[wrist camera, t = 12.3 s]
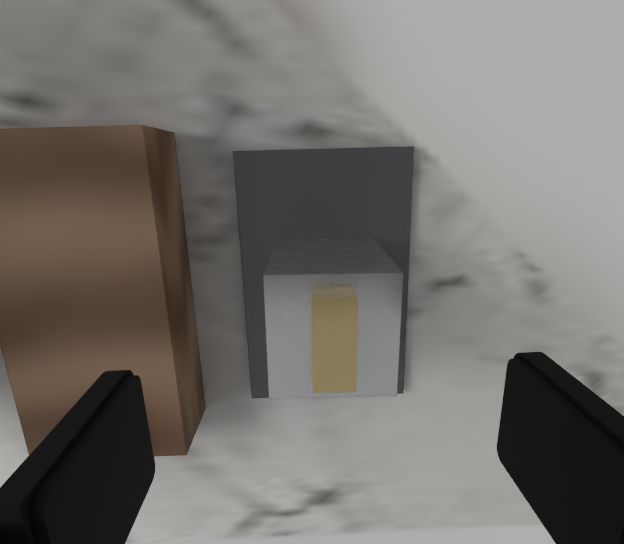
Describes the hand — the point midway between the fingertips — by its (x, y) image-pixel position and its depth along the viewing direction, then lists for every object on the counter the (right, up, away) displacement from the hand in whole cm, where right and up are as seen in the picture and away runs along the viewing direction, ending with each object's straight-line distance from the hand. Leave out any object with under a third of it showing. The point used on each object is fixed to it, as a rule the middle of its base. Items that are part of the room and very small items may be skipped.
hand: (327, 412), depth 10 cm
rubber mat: (0, +3, +12) cm, 12 cm away
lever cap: (0, +3, +11) cm, 12 cm away
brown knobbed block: (-11, +3, +12) cm, 17 cm away
